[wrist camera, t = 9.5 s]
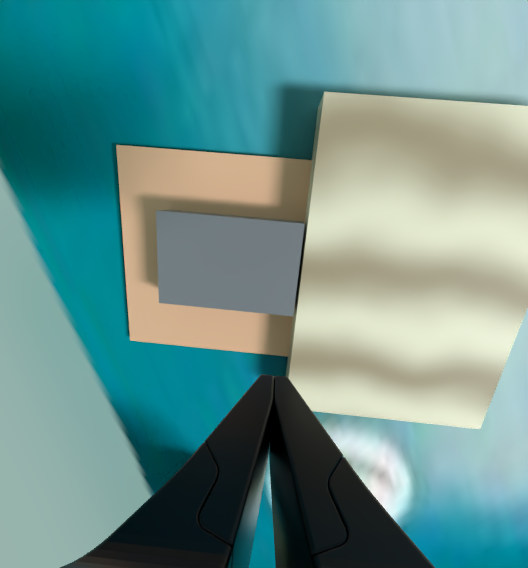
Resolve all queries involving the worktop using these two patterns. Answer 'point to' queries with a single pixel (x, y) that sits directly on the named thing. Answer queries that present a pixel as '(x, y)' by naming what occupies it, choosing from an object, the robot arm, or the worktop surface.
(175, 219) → the grey rectangular block
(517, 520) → the worktop surface
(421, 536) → the worktop surface
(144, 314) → the mat
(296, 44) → the worktop surface
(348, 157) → the cream wavy flat block
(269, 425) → the robot arm
